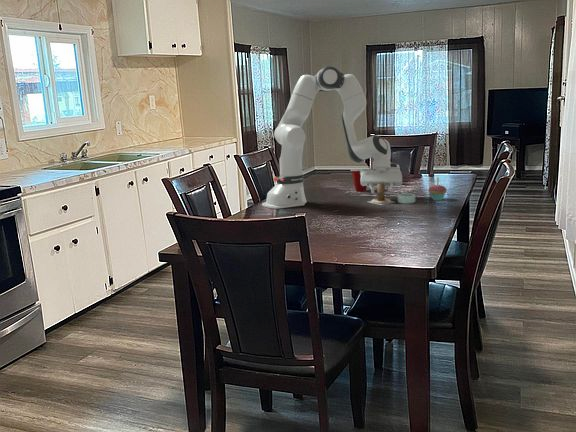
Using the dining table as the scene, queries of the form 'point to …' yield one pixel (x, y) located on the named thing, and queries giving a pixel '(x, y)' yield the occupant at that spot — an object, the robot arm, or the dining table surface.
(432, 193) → the cupcake
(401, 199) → the bowl
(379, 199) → the lid
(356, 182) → the plastic cup
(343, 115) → the robot arm
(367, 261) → the dining table surface
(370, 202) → the mat
